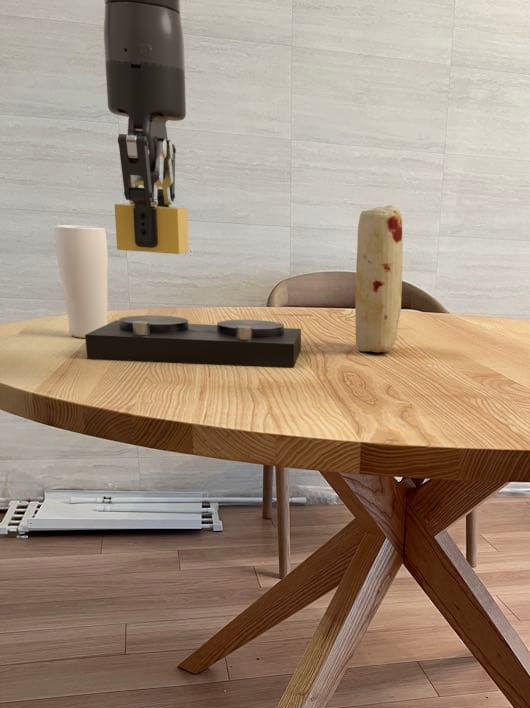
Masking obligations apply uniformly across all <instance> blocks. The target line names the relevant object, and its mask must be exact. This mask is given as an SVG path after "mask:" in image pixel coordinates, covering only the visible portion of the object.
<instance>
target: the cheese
mask: <svg viewBox="0 0 530 708" xmlns="http://www.w3.org/2000/svg"><path fill="white" fill-rule="evenodd" d="M133 208H135V207H132V206H131V204H130V203H114V218H115V219H114V220H115V221H114V222H115V236H116V237H115V239H116V250H117V251H131V252H145V253H160V254H173V255H180V254H185V253H188V252H189V251H190V250H189V222H188V219H189V217H188V216H189V215H188V208H185V207H172V206H171V207H160V206H157V208H152V209H156V210H157V228H158V245H157V246H156V247H154V248H149V247H139V246H137V245H136V243H135V232H134V212H133Z"/></svg>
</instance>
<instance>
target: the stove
mask: <svg viewBox="0 0 530 708" xmlns="http://www.w3.org/2000/svg"><path fill="white" fill-rule="evenodd" d="M84 339H85V348H86V349H85V350H86V359H87V360H105V361H106V360H108V361H128V362H129V361H131V362H151V363H152V362H153V363H154V362H155V363H177V364H202V365H203V364H204V365H221V366H222V365H224V366H244V367H245V366H249V367H271V368H272V367H273V368H292V369H293V368H295V367H296V364H297V360H298V358H299V356H300V353H301V351H302V329H301V328H293V327H291V328H289V327H285V324H283V323H281V322H277V321H271V320H262V319H228V320H227V319H226V320H221V321H217V323H216V324H206V323H205V324H204V323H189V319H187V318H184V317H181V316H173V315H172V316H171V315H153V314H152V315H151V314H150V315H146V314H145V315H129V316H128V315H127V316H123V317H120V318H118V320H113V321H111V322H108V324H107V325H105V326H103V327H101V328H99V329H96V330H94V331H92V332H90V333H88V334H86V335H85V338H84Z"/></svg>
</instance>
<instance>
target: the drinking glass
mask: <svg viewBox="0 0 530 708" xmlns="http://www.w3.org/2000/svg"><path fill="white" fill-rule="evenodd" d="M54 241H55V249H56V251H55V252H56V258H57V264H58V269H59V274H60V275H59V276H60V280H61V285H62V291H63V296H64V302H65V307H66V308H65V309H66V313H67V319H68V328H69V333H70V335H71V336H72V337H75V338H80V339H86V338H85V335H86V334H88V333H90V332H92V331H94V330H96V329H99V328H101V327H103V326H105V325H107V324H109V253H108V241H107V231H106V228H105V227H103V226H92V225H69V224H68V225H67V224H65V225H63V224H61V225H60V224H59V225H55V226H54Z"/></svg>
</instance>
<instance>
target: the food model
mask: <svg viewBox="0 0 530 708" xmlns="http://www.w3.org/2000/svg"><path fill="white" fill-rule="evenodd" d="M403 241H404V240H403V217H402V213H401V211H400V210H399V209H398V208H397V207H396V206H394V205H390V204H388V205H386V206H376V207H373V208H371V209H367V210H362V211H361V212H360V215H359V218H358V223H357V246H356V247H357V248H356V250H357V251H356V265H355V267H356V269H355V283H354V284H355V286H354V289H355V293H354V294H355V295H354V296H355V300H354V301H355V304H354V305H355V309H354V310H355V312H354V314H355V315H354V317H355V319H354V320H355V345H356V347H357V349H358V351H360V352H374V353H388V352H390V351H391V350H393V348H394V346H395V343H396V342H397V341H396V340H397V338H398V337H397V336H398V329H399V322H400V316H401V312H402V291H403V253H404V252H403V251H404V248H403V245H404V242H403Z"/></svg>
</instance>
